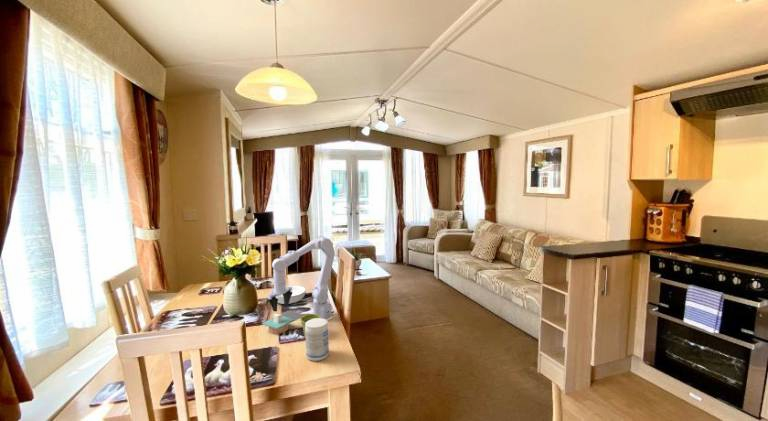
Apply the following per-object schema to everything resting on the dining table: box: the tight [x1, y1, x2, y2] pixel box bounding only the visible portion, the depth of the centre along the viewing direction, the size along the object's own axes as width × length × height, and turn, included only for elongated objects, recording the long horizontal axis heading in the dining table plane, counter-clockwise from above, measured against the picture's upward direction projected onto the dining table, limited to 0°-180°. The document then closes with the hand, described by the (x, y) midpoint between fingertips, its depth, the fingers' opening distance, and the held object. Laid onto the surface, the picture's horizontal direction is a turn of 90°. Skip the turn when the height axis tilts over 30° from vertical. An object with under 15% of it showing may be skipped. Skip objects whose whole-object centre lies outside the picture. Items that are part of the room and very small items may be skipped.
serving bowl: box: [269, 285, 307, 305], centre depth 198 cm, size 21×21×7 cm
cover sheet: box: [261, 312, 295, 329], centre depth 160 cm, size 11×11×4 cm
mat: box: [270, 310, 306, 322], centre depth 175 cm, size 13×13×1 cm
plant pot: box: [299, 313, 320, 338], centre depth 154 cm, size 9×9×9 cm
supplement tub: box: [304, 318, 330, 362], centre depth 136 cm, size 10×10×15 cm
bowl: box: [268, 324, 289, 335], centre depth 160 cm, size 9×9×4 cm
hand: (280, 308), depth 164 cm, fingers open, 7 cm apart
